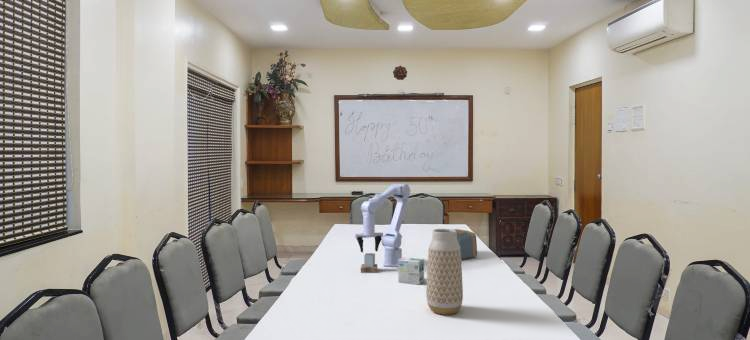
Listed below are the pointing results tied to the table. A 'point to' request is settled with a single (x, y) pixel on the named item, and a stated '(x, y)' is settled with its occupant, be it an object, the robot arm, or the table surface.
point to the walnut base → (369, 269)
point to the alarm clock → (467, 244)
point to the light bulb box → (411, 270)
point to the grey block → (369, 260)
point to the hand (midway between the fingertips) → (369, 251)
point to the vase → (444, 273)
